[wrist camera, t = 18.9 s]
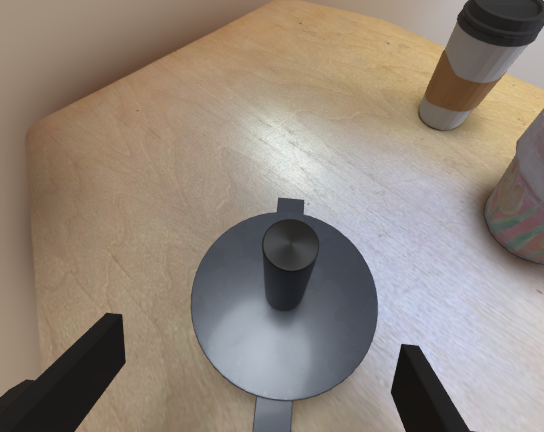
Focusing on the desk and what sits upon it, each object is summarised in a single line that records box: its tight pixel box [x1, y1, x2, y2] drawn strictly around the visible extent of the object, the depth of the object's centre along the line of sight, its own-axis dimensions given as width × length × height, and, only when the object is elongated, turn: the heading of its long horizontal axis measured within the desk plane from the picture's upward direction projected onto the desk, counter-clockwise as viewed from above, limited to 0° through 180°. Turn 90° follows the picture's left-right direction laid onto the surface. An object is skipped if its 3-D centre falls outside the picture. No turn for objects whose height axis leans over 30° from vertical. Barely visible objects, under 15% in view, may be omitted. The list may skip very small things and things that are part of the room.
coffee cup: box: [419, 0, 544, 130], centre depth 37 cm, size 8×8×15 cm
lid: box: [191, 212, 378, 401], centre depth 18 cm, size 14×14×10 cm
